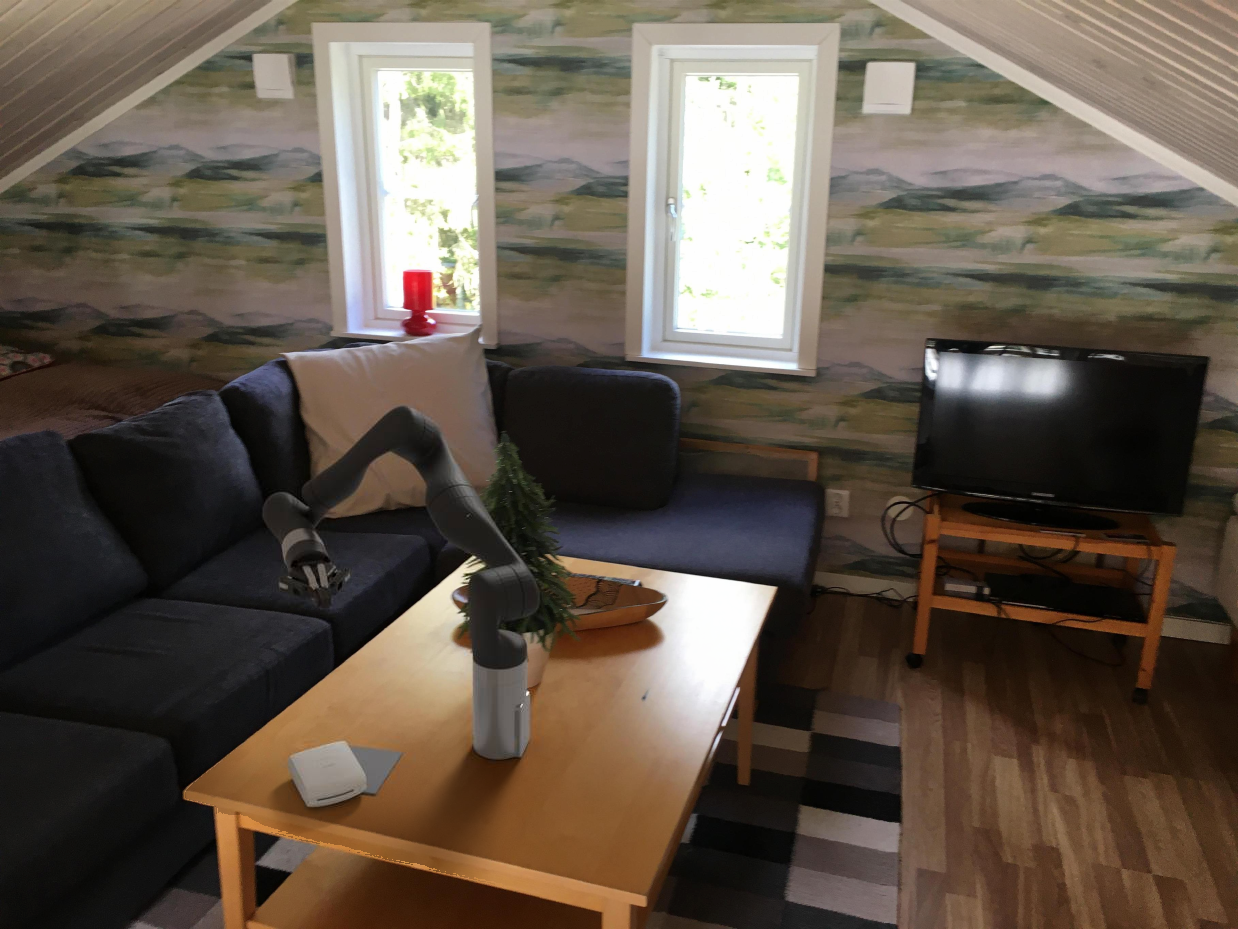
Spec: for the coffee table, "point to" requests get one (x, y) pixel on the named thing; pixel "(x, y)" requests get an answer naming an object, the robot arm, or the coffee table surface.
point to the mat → (375, 765)
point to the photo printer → (327, 774)
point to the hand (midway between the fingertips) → (325, 604)
